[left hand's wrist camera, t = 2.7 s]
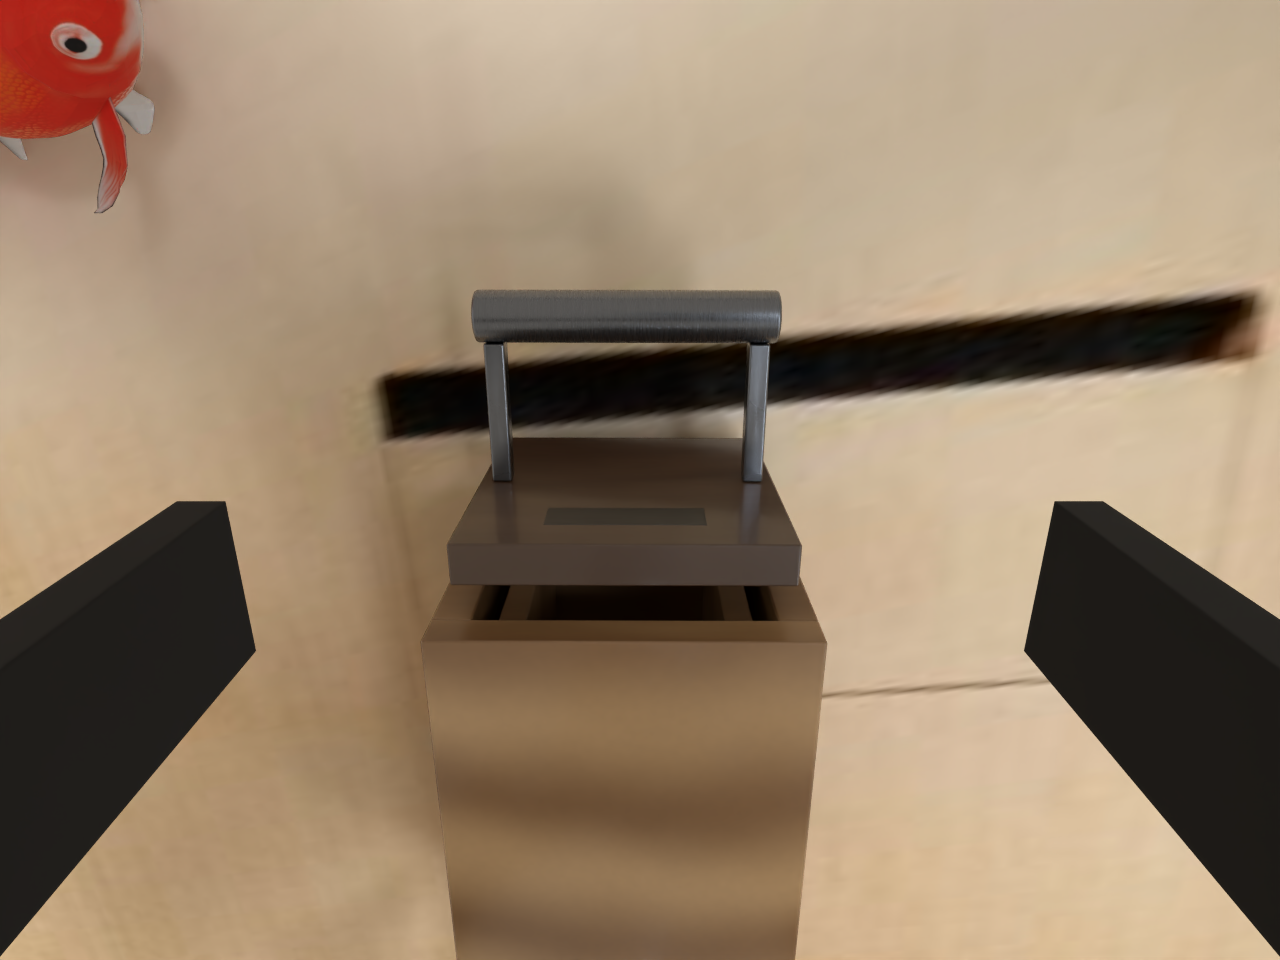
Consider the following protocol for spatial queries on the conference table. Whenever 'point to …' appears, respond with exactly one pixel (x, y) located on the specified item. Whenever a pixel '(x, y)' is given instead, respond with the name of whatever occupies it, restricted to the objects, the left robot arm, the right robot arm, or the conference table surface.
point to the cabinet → (624, 778)
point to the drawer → (626, 475)
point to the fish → (73, 77)
